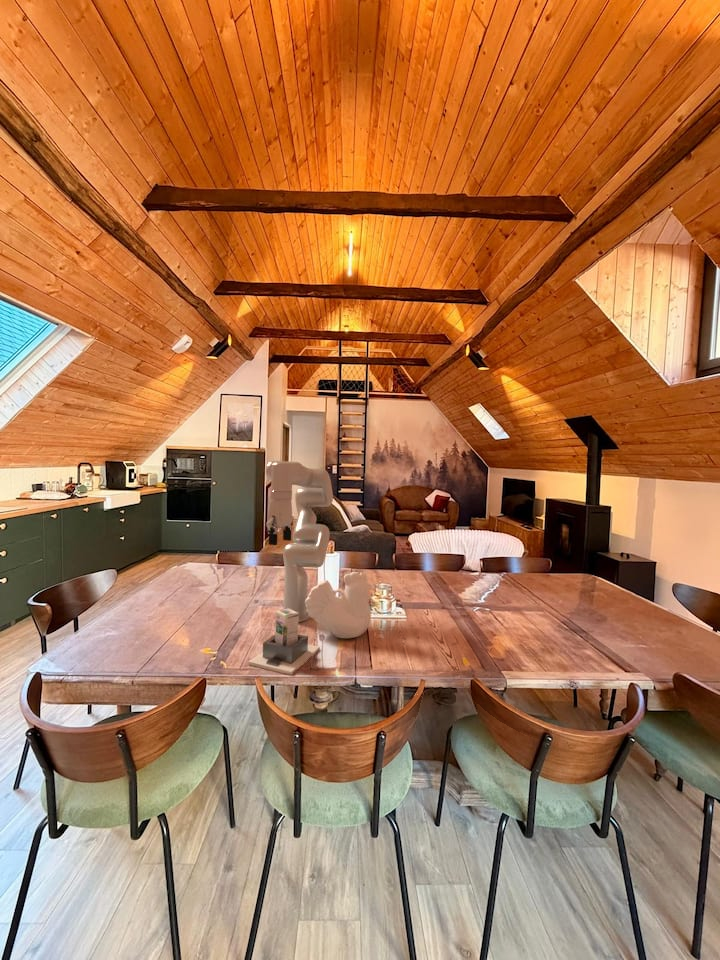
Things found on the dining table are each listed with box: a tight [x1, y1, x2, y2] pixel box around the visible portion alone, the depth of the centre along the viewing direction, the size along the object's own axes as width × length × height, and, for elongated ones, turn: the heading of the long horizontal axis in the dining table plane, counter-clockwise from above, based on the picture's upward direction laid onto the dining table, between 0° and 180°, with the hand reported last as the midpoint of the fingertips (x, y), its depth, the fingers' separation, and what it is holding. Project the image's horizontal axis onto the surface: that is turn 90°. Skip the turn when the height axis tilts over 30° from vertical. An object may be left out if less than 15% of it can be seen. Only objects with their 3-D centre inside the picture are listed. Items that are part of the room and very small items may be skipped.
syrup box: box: [274, 608, 299, 646], centre depth 149 cm, size 6×6×14 cm
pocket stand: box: [247, 634, 321, 676], centre depth 149 cm, size 20×16×6 cm
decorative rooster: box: [305, 571, 373, 639], centre depth 170 cm, size 25×16×25 cm, turn 81°
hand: (280, 542), depth 161 cm, fingers open, 9 cm apart
